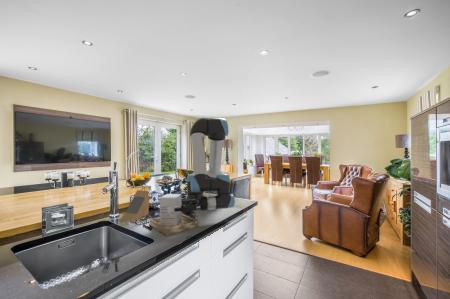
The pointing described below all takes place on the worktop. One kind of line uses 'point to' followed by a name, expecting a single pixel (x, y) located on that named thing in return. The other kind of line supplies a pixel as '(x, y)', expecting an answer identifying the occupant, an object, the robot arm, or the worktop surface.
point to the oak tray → (184, 225)
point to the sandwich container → (137, 207)
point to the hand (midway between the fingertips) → (167, 206)
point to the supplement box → (174, 217)
